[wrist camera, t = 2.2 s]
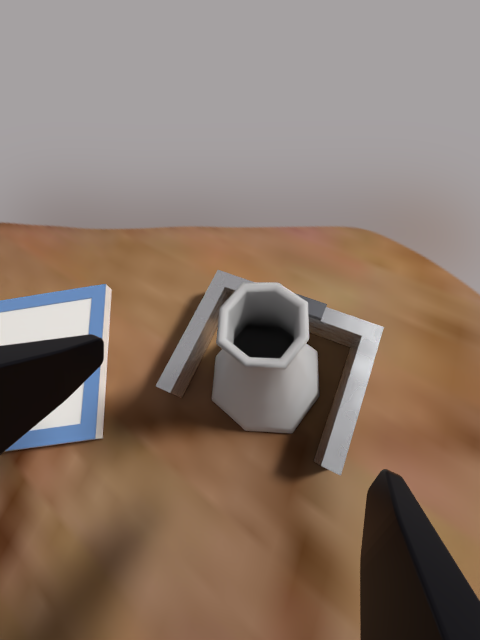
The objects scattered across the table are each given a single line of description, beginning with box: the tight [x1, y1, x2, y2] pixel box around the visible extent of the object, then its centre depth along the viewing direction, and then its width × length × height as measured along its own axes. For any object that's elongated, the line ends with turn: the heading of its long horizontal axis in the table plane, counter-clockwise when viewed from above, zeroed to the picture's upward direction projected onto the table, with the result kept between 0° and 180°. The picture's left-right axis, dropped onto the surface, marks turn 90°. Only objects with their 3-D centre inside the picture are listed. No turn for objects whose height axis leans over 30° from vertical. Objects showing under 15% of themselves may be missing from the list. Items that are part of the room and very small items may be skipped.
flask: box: [212, 282, 320, 433], centre depth 14 cm, size 7×7×10 cm
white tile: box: [0, 284, 112, 452], centre depth 20 cm, size 11×11×1 cm
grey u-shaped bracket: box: [156, 270, 384, 475], centre depth 17 cm, size 8×11×3 cm
